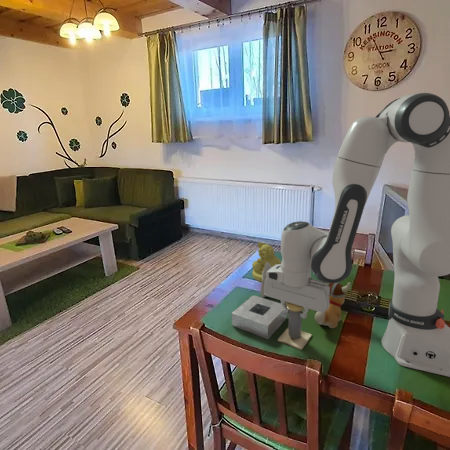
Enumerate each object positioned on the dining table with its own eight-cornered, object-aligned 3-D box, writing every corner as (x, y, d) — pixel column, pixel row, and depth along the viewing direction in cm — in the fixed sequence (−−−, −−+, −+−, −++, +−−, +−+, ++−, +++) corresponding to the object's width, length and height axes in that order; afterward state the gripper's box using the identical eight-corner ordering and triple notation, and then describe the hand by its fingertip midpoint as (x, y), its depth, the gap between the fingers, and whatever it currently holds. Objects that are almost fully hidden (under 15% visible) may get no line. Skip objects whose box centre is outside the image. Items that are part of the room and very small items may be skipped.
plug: (305, 332, 105) (306, 302, 101) (299, 341, 101) (299, 309, 97) (290, 327, 108) (291, 297, 104) (283, 336, 104) (283, 305, 100)
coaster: (311, 335, 106) (311, 334, 105) (301, 349, 100) (301, 348, 99) (288, 328, 110) (288, 326, 110) (277, 340, 104) (277, 339, 104)
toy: (352, 317, 114) (355, 278, 109) (330, 339, 104) (333, 297, 99) (326, 307, 120) (328, 270, 116) (304, 327, 110) (305, 287, 106)
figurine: (246, 277, 148) (244, 246, 143) (264, 265, 158) (263, 236, 153) (273, 286, 138) (273, 253, 134) (290, 273, 149) (291, 242, 144)
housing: (287, 318, 116) (287, 305, 114) (267, 339, 105) (267, 326, 104) (253, 306, 124) (253, 295, 122) (232, 325, 113) (231, 313, 112)
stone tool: (263, 301, 127) (262, 265, 123) (258, 298, 130) (257, 263, 125) (279, 293, 132) (278, 259, 127) (273, 290, 134) (273, 257, 130)
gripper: (333, 278, 94) (331, 320, 99) (271, 264, 106) (271, 301, 110) (326, 287, 90) (324, 331, 94) (261, 271, 101) (262, 310, 106)
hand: (295, 314), depth 102 cm, fingers closed on plug, 4 cm apart
